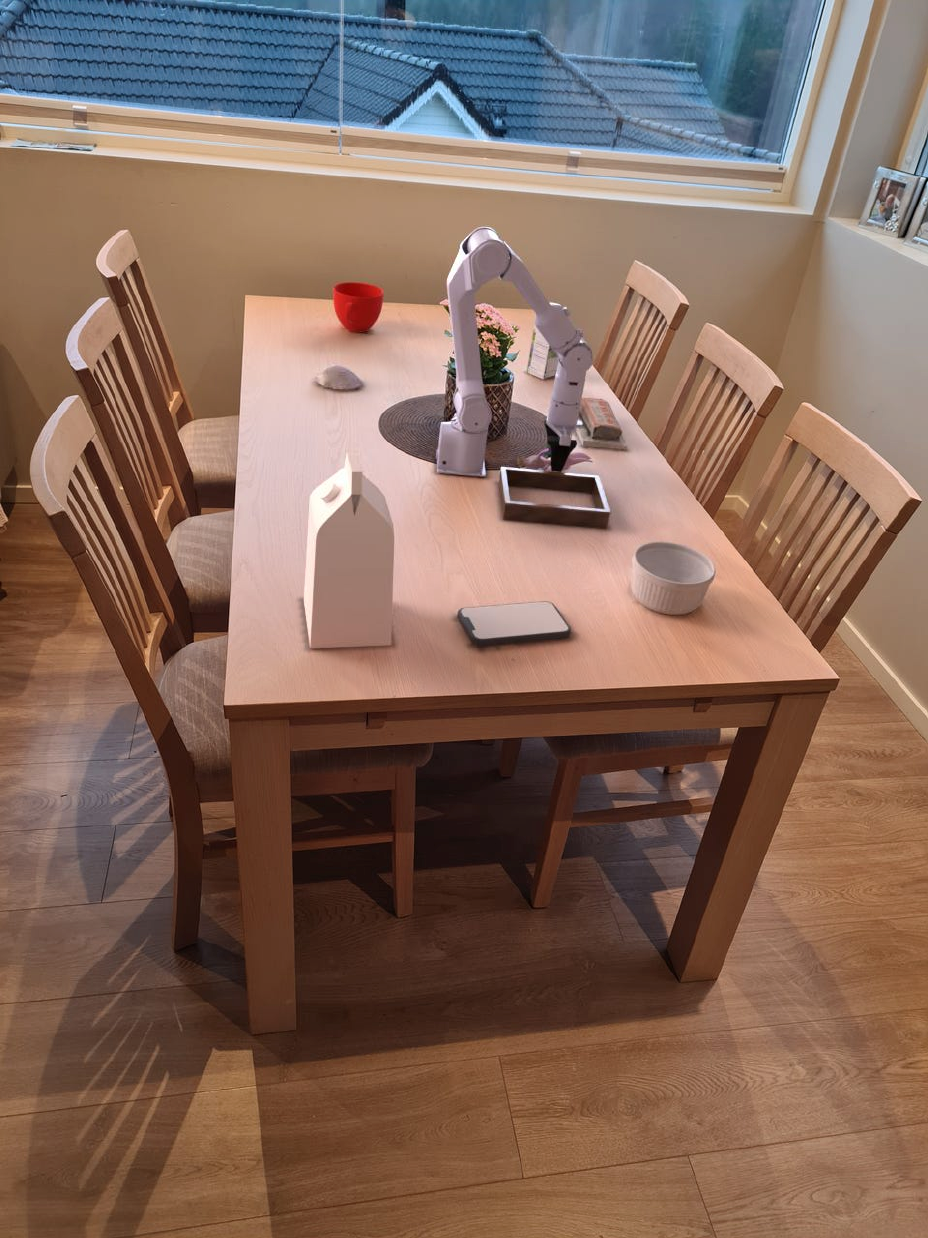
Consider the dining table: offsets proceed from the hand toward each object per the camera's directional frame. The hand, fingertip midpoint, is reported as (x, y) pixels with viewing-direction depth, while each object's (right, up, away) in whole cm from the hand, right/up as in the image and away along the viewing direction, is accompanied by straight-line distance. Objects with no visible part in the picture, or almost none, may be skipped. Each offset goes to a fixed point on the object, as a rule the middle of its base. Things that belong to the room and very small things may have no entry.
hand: (554, 463), depth 188 cm
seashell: (-47, +24, +25) cm, 58 cm away
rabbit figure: (0, -1, +1) cm, 2 cm away
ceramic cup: (-47, +44, +58) cm, 87 cm away
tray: (-2, -10, -12) cm, 15 cm away
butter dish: (+11, +10, +20) cm, 25 cm away
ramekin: (+15, -28, -34) cm, 46 cm away
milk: (-36, -32, -50) cm, 69 cm away
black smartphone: (-11, -33, -46) cm, 57 cm away
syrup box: (+1, +30, +46) cm, 55 cm away
